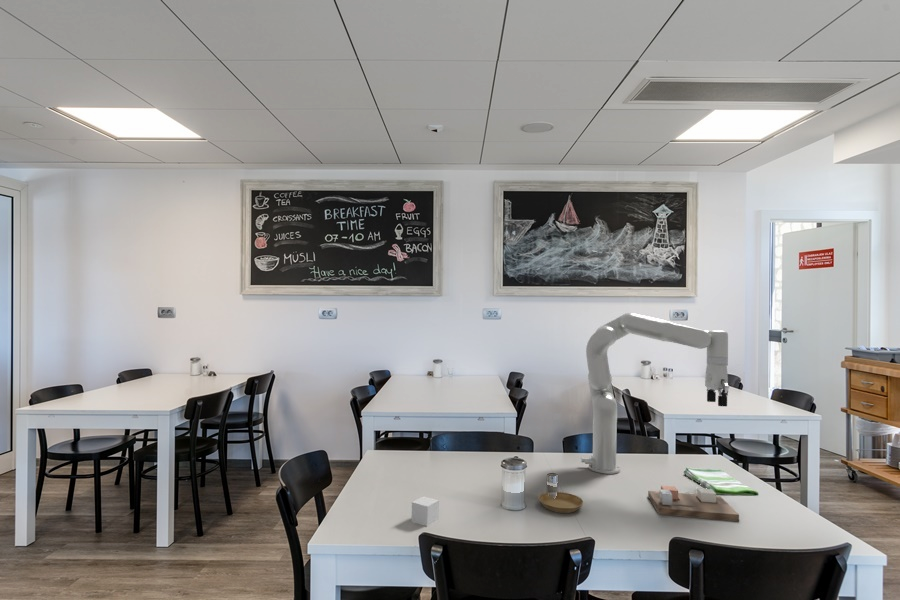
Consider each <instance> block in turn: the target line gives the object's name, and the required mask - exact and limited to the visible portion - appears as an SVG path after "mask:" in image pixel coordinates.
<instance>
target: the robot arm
mask: <svg viewBox="0 0 900 600" xmlns="http://www.w3.org/2000/svg"><path fill="white" fill-rule="evenodd" d="M631 334H632V335H637V336H640V337H644V338H649V339H651V340H656V341H661V342H666V343H668V342H669V343H673V344H677V345H678V344H679V345H682V346H686V347H690V348H694V349H699V350H700V349H706V368H705V379H704V385H705V387H706V401H707V402H708V403H711V402H712V403H716V401H717V405H718V407H728V396H729V395H728V393H729V389H730V386H729V383H728V382H729V375H728V365H729V334H728V332H727V331H726V330H719V329H718V330H717V329H716V330H715V329H714V330H713V329H712V330H703V329H701V328H695V327H691V326H688V325H682V324H679V323H678V324H677V323H674V322H672V321H668V320H664V319H662V318H661V319H660V318H655V317H651V316H646V315H641V314H637V313H635V312H627V313H623V314H622V315H620V316H619V317H616V318H615V319H613V320H611V321H609V322H607V323H604V324H603V325H601V326H600V327H598V328H597V329H596V331H595V332H594V333H593V334H592V335H591V336H590V337H589V340H588V341H587V345H586V346H585V347H586V350H585V352H586V355H585V356H586V363H587V369H588V375H587V380H588V386H589V392H590V397H591V403H592V412H593V413H592V414H593V415H592V455H591V456H590V457H588V458H587V457H581V458H580V461H581V463H584V464H585V465H586V464H587V465H588V469H589V470H590V471H593V472H595V473H599V474H606V475H607V474H608V475H612V474H614V475H615V474H618V473H620V472H621V468H620V466H619V465H617V437H618V436H617V426H618V425H617V423H618V404H617V400H616V398H615V396H614V390H613V384H612V382H613V381H612V380H613V378H612V374H611V369H610V367H609V365H610V364H609V358H608V351H609V347H611V346H613V345H614V344H615V343H616V342H617V341H618V340H620V339H622V338H623V337H626V336H628V335H631ZM715 391H717V393H718V395H717V393H716V392H715Z"/></svg>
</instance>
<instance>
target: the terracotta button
mask: <svg viewBox="0 0 900 600" xmlns="http://www.w3.org/2000/svg"><path fill="white" fill-rule="evenodd" d="M660 489H662V490H669V491H670V492H671V493H672V499H675V500H678V493H679V489H677V487H676V486H675V485H664V484H663V485H660Z"/></svg>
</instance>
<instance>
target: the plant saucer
mask: <svg viewBox="0 0 900 600" xmlns="http://www.w3.org/2000/svg"><path fill="white" fill-rule="evenodd" d="M548 492H549V491H548ZM548 492H544V493H543V492H542V493H541V494H539V496H538V500H539V502H540V503H541V504H542V505H543V507H545V508H546V509H547V510H549V511H551V512H555V513H559V514H561V513H562V514H569V513H573V512H577V511H578V510H579V509H580V508H581V507H582V506H583V504H584V500H583V499H582V498H581V497H579V496H578V495H575V494H572V493H569V492H563V491H556V492H557V496H556V498H555V499H554V498H552V497H550V496H548Z"/></svg>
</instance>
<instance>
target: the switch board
mask: <svg viewBox="0 0 900 600" xmlns="http://www.w3.org/2000/svg"><path fill="white" fill-rule="evenodd" d="M647 496H648V499H649V501H650V502H651V501H652V502H651V504H652V505H653V506H655V507H654V508H655V510H656V511H657V513H658V514H659V515H664V516H674V515H675V517H676V516H677V517H688V518H698V519H699V518H700V519H710V520H711V519H712V520H720V521H721V520H723V521H733V522H735V521H736V522H739V521H740V514H739V513H738V512H737V511H736V510H735V509H734V507H732V506H731V505H730V504H729V503H728V502H727V501H726V500H725V499H724V498H723V497H722V496H720V495H719V496H718V495H716V503H712V502H701V501H700V499H699V498H698V497H697V494H695V493H694V494H692V493H680V492H678V500H675V499H672V505H663V504H662V503H661V501H660V491H658V490H657V491H654V490H648V492H647Z"/></svg>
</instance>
